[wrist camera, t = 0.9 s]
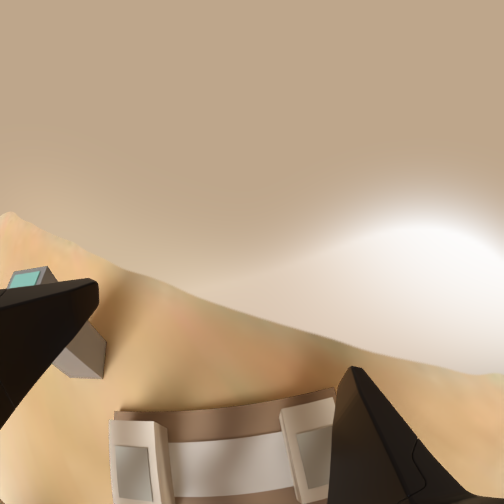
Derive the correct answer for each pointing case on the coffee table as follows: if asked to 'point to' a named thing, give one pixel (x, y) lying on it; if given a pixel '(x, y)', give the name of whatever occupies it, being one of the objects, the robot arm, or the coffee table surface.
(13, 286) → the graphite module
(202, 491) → the board
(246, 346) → the coffee table surface
